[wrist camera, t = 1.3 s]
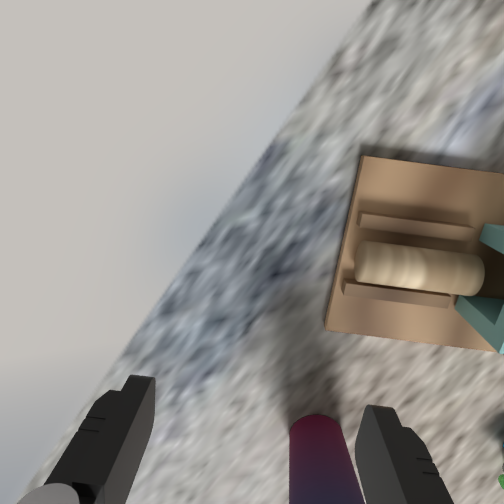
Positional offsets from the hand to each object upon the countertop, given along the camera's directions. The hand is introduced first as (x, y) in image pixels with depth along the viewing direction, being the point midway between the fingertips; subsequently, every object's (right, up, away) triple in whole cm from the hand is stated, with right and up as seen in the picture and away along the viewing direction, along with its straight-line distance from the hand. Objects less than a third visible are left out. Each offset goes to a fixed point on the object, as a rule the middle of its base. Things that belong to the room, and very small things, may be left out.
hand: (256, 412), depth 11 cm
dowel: (+12, +5, +16) cm, 20 cm away
